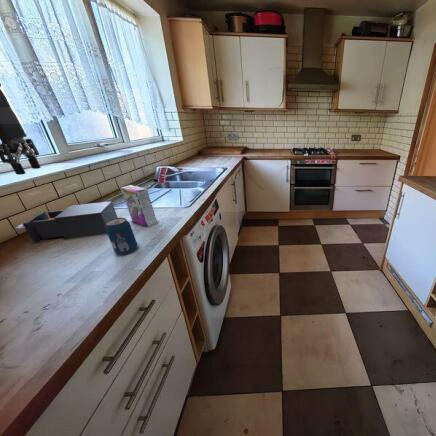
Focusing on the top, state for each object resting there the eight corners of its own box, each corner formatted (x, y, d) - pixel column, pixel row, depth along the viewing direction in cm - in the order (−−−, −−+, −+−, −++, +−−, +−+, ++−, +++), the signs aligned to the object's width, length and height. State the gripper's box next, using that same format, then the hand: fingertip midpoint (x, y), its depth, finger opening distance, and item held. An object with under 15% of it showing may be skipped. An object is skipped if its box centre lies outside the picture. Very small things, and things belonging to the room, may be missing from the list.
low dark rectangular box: (65, 239, 89) (53, 218, 85) (80, 225, 100) (70, 205, 95) (109, 233, 93) (100, 212, 89) (119, 220, 104) (111, 201, 99)
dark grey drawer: (17, 243, 85) (5, 225, 81) (36, 229, 94) (27, 212, 91) (76, 235, 90) (67, 218, 87) (88, 223, 100) (81, 206, 96)
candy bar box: (131, 222, 102) (119, 187, 95) (142, 218, 106) (131, 184, 99) (147, 227, 97) (135, 191, 90) (158, 223, 101) (147, 188, 94)
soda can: (131, 243, 86) (120, 215, 81) (142, 248, 83) (132, 219, 78) (111, 253, 81) (98, 223, 75) (122, 258, 78) (110, 227, 72)
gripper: (5, 121, 79) (29, 167, 86) (-31, 124, 67) (0, 177, 74) (32, 121, 81) (53, 166, 89) (2, 123, 69) (29, 175, 77)
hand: (29, 171), depth 82 cm, fingers open, 8 cm apart
